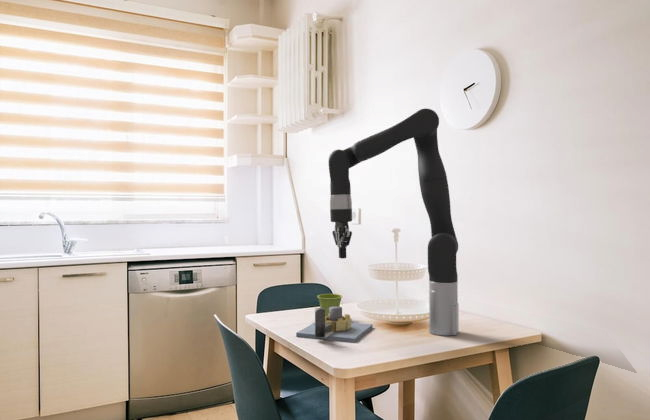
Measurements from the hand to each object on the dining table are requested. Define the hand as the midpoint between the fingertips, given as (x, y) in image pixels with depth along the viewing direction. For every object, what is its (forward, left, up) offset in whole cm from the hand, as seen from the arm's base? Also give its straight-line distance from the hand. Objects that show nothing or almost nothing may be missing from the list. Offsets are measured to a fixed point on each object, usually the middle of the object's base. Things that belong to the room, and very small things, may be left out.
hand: (342, 258), depth 168 cm
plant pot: (+10, -13, -25) cm, 30 cm away
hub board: (+1, +5, -25) cm, 25 cm away
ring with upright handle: (+1, +9, -23) cm, 25 cm away
